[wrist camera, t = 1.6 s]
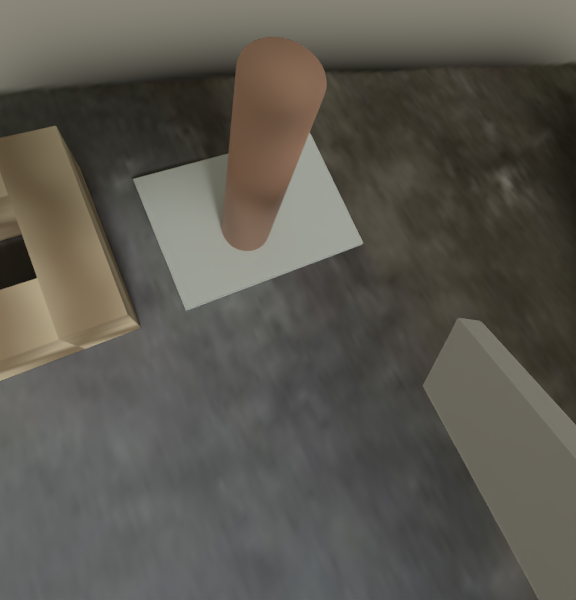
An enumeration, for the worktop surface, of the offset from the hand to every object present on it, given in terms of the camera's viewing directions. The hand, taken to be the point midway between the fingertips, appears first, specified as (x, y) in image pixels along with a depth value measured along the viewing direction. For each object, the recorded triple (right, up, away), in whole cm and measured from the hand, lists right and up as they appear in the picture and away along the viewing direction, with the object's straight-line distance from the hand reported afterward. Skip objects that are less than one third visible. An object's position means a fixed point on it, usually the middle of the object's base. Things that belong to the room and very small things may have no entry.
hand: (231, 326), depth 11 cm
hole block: (-16, +2, +13) cm, 21 cm away
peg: (-1, +6, +17) cm, 18 cm away
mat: (-1, +7, +18) cm, 19 cm away
